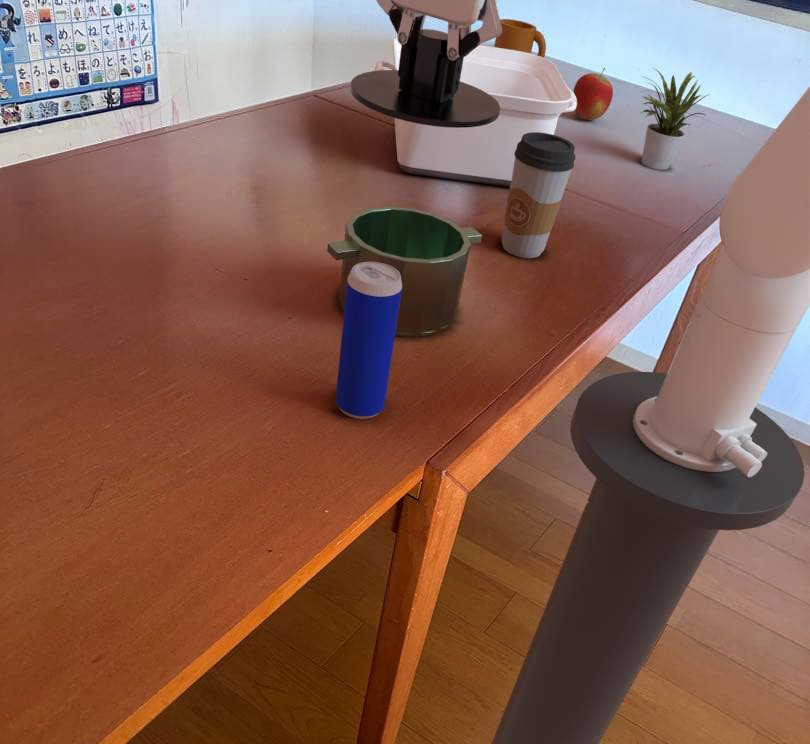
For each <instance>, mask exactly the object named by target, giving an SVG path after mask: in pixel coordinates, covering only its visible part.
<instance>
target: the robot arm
mask: <svg viewBox="0 0 810 744" xmlns="http://www.w3.org/2000/svg"><path fill="white" fill-rule="evenodd" d="M376 3H377V4H378V6H379V7H380V9H382V10H383V12H384V14H386V16H388V19H389V21H390V23H391V24H392V26H393V29H394V30H395V32H396V34H397V36H396V37H397V39H398V42H399V43H400V44H401V53H400V62H399V70H398V76H399V77H400V81H399V89H401V90H407V89H409V88H410V81H411V74H412V66H413V59H414V51H415V44H416V36H417V31H418V30H421V29H424V25H425V21H426V17H430V18H434V19H438V20H440V21H444V22H447V34H448V40H447V54H446V57H445V58H442V59H441V62H440V68H439V75H438V81H437V88H436V94H435V99H436V101H437V102H440V103H442V102H445V101H447V100H449V99H452V98H453V97H454V94H455V93H456V92H457V91H458V88H459V82H460V77H461V71H462V65H463V59H464V57H465V56H467V55H468V54H469V53H470V52H471V51H472V50H474V49H475V48H476V47H477V46H479V45H482V44H484V43H486V42H488V41H491V40H493V39H496V37H498V36H500V35H501V33H502V26H501V22H500V15H499V11H498V7H497V4H498V0H376ZM477 21H478V22H479V21H480V22H482V25H481V27H480V28H477V29H475V30H472V25H474V24H476V22H477ZM718 225H719V227H718V228H719V229H718V230H719V236H720V237H719V238H720V241H721V244H722V245H721V248H720V250H719V252H718V255H717V257H716V259H715V261H714V263H713V265H712V268H711V270H710V272H709V276H708V277H707V279H706V281H705V284H704V287H703V289H702V291H701V293H700V295H699V298H698V300H697V303H696V305H695V306H694V310H693V312H692V314H691V317H690V319H689V321H688V323H687V326H686V328H685V331H684V333H683V335H682V338H681V340H680V342H679V344H678V347H677V349H676V352H675V353H674V357H673V359H672V362H671V364H670V366H669V367H668V368H669V369H668V371H667V373H666V374H667V375H666V378H665V380H664V382H663V385H662V387H661V390H660V392H659V394H658V396H657V397H653V398H650V399H647V400H645V401H644V402H642V403H641V404H640V405H639V406H638V408H637V410H636V412H635V414H634V418H633V427H634V429H635V432H636V434H637V435H638V437H639V438H640V440H641V441H642V442H643V443H644V444H645V445H646V446H647V447H648V448H649V449H650V450H652V451H653V452H654V453H656V454H657V455H659V456H661V457H662V458H664V459H666V460H668V461H670V462H672V463H674V464H676V465H679V466H682V467H685V468H689V469H693V470H697V471H705V472H721V471H727V470H731V469H733V468H738V469H739V470H740V471H741V472H743V473H744V474H745V475H746V476H747V477H752V476H753V475H755V474H756V473H757V472H758V471H759V470H760V468H761V466H762V462H761V461H763V460H764V459H765V457H766V456H767V452H766V451H765V450H764V449H762V448H761V447H760V446H758V445H756V444H755V443H754V442H752V438H751V437H750V436H751V434H752V432H753V430H754V429H755V427H756V425H757V424H756V423H755V422H753V421H752V420H751V419H750V416H751V414H752V412H753V410H754V408H755V407H756V406H757V404H758V402H759V401H760V399H761V397H762V395H763V393H764V391H765V389H766V388H767V386H768V384H769V382H770V380H771V378H772V376H773V374H774V372H775V371H776V369H777V367H778V364H779V363H780V361H781V359H782V357H783V355H784V353H785V352H786V350H787V348H788V347H789V344H790V342H791V340H792V338H793V336H794V334H795V332H796V330H797V329H798V327H799V326H800V324H801V322H802V320H803V318H804V316H805V314H806V312H807V311H808V309H809V307H810V86H808V88H807V89H806V91H804V93H803V95H801V97H800V98H799V99H798V100H797V102H796V103H795V105H794V106H793V107H792V108H791V110H790V111H789V112H788V113H787V115H785V117H784V118H783V119H782V120H781V122H780V123H779V124H778V126H777V127H776V128H775V129H774V131H773V132H772V133H771V135H770V136H768V138H767V140H765V142H764V143H763V145H762V146H761V147H760V148H759V150H758V151H757V152H756V154H755V155H754V156H753V157H752V158H751V160H749V162H748V163H747V165H746V166H745V167H744V168H743V170H742V171H741V172H740V174H739V175H738V176H737V178H736V179H735V180H734V181H733V183H732V185H731V186H730V187H729V189H728V191H727V193H726V195H725V197H724V200H723V203H722V205H721V209H720V215H719V223H718Z"/></svg>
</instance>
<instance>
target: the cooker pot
mask: <svg viewBox="0 0 810 744" xmlns="http://www.w3.org/2000/svg"><path fill="white" fill-rule="evenodd" d="M482 237H483V235H482V234H481V233H480V232H479V231H477V230H476V228H474V227H473V226H467V227H460V226H459V225H458V224H456V223H455V222H453V221H452V220H449V219H447V218H444V217H443V216H440V215H438V214H435V213H433V212H428V211H425V210H420V209H416V208H413V207H412V208H411V207H400V206H381V207H370V208H366V209H363V210H360V211H358V212H355V213H353V214H352V215H351V216H350V217H349V219H348V220H347V221H346V222H345V230H344V240H342V241H333V242H328V243H327V246H326V249H327V250H326V252H327V253H328V254H329V255H330V256H331V257H332V258H333V259H334V260H335V261H340V260H341V261H342V262H341V263H342V264H341V272H340V273H341V274H340V284H339V285H340V286H339V303H340V307H341V309H342V310H343V312H344V309H345V299H346V289H347V279H348V276H349V274H350V272H351V270H352V268H353V267H354V266H355V265H356V264H359V263H362V262H379V263H384V264H387V265H389V266H392V267H394V268H395V269H397V270H398V271H399V273H400V275H401V282H402V292H401V299H400V306H399V312H398V319H397V326H396V332H395V337H402V338H423V337H429V336H432V335H436V334H439V333H442V332H444V331H446V330H447V329H449V328H450V327H451V326H452V325H453V323H454V321H455V318H456V315H457V313H458V308H459V304H460V299H461V295H462V291H463V290H462V289H463V284H464V280H465V276H466V275H465V274H466V271H467V270H466V269H467V265H468V260H469V255H470V250H471V245H474V244H481V243H482V239H483V238H482Z"/></svg>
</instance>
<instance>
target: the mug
mask: <svg viewBox="0 0 810 744" xmlns="http://www.w3.org/2000/svg"><path fill="white" fill-rule="evenodd" d="M500 22H501V26H502V33H501V35H500V36H498V37H496V38H494V39H495V40H494V44H493V47H496V48H503V49H509V50H516V51H521V52H526V53H531V54H532V50H533V46H534V42H535V43H537V47H538V48H537V49H538V51H537V54H536V55H537V56H540V57H543V58H545V56H546V53H547V43H546V39H545V36H544V34H542V32H541V31H539V30H537V26H536V25H534V24H531V23H529V22H526V21H522V20H517V19H513V18H512V19H511V18H502V19H500Z"/></svg>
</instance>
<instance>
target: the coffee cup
mask: <svg viewBox="0 0 810 744" xmlns="http://www.w3.org/2000/svg"><path fill="white" fill-rule="evenodd" d="M575 150H576V147H575V145H574V143H573V142H571V141H570V140H569V139H566V138H565V137H561V136H559V135H555V134H554V135H552V134H547V133H540V132H531V133H526V134H524V135H523V136H522V139H521V141H520V142H519V143H518V144H517V149H516V151H515V153H514V155H515V162H514V168H513V174H512V180H511V186H510V187H509V189H508V196H507V202H506V208H505V214H504V225H503V229H502V236H501V244H502V248H503V250H505V251H506V252H507V253H508V254H511V255H513V256H515V257H519V258H525V259H532V258H538V257H539V256H541V254H542V253H544V251H545V249H546V245H547V242H548V239H549V237H550V234H551V231H552V229H553V227H554V224H555V221H556V219H557V216H558V212H559V210H560V206H561V204H562V200H563V195H564V192H565V189H566V187H567V185H568V184H567V183H568V180H569V178H570V175H571V172H572V170H573V169H574V167H575V160H576V154H575Z"/></svg>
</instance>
